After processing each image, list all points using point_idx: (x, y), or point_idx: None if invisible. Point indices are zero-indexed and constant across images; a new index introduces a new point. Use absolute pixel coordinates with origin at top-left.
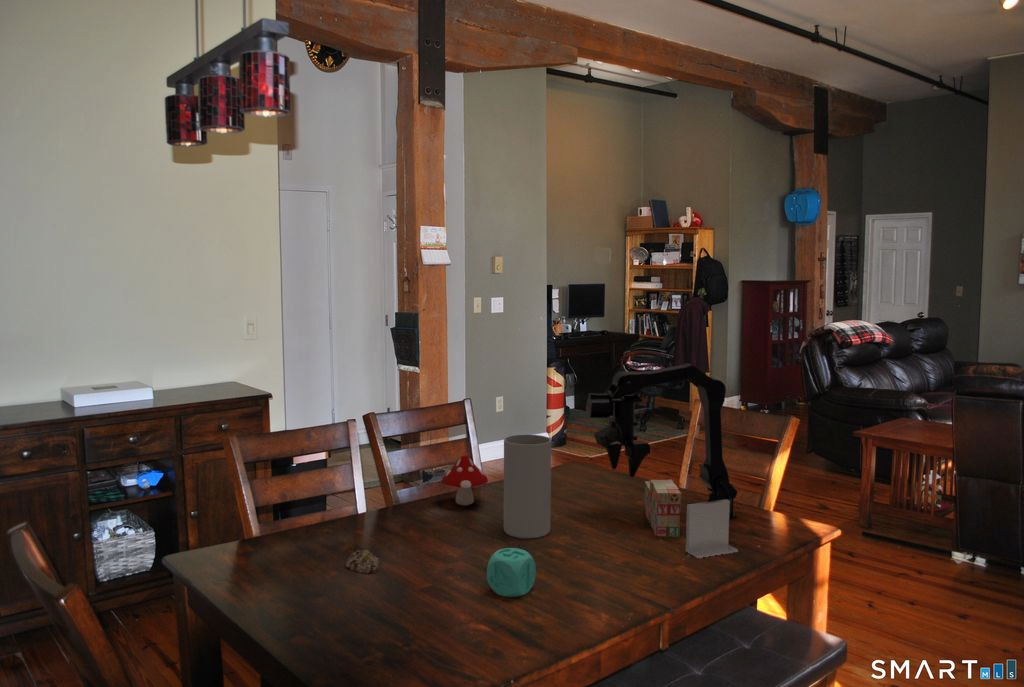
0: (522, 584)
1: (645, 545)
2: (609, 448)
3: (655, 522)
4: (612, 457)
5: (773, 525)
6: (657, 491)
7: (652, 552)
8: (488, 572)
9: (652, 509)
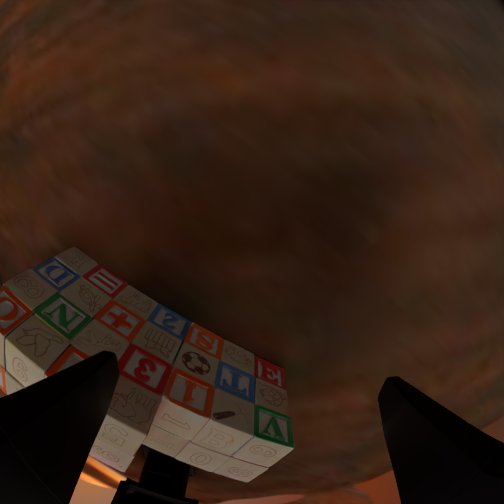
0: None
1: (39, 175)
2: (497, 493)
3: (71, 273)
4: (432, 444)
5: (99, 462)
6: None
7: (8, 164)
8: None
9: (116, 323)
